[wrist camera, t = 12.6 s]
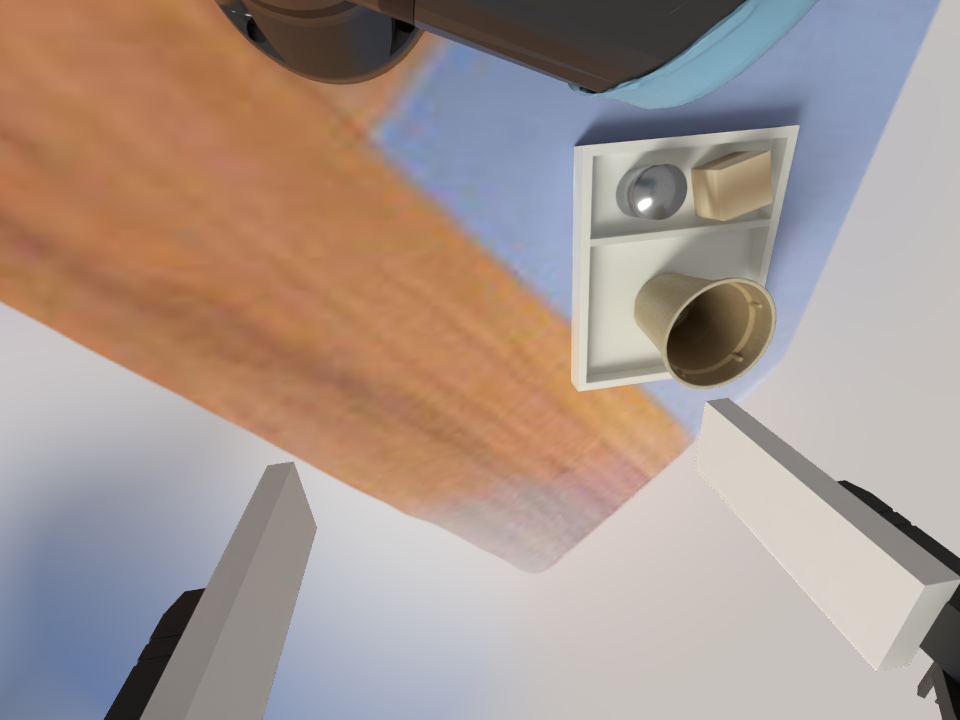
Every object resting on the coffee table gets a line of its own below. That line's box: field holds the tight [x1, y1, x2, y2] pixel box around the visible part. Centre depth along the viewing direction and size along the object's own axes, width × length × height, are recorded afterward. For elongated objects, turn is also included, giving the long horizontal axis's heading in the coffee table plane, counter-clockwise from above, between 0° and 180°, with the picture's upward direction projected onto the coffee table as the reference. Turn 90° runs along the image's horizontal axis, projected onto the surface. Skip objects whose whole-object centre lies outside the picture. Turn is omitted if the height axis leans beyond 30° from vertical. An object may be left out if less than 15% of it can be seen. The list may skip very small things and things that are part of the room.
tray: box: [571, 125, 800, 392], centre depth 39 cm, size 22×18×2 cm
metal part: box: [616, 164, 687, 220], centre depth 34 cm, size 4×4×4 cm
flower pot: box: [634, 273, 776, 389], centre depth 37 cm, size 9×9×9 cm
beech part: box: [690, 151, 772, 221], centre depth 35 cm, size 4×4×4 cm
